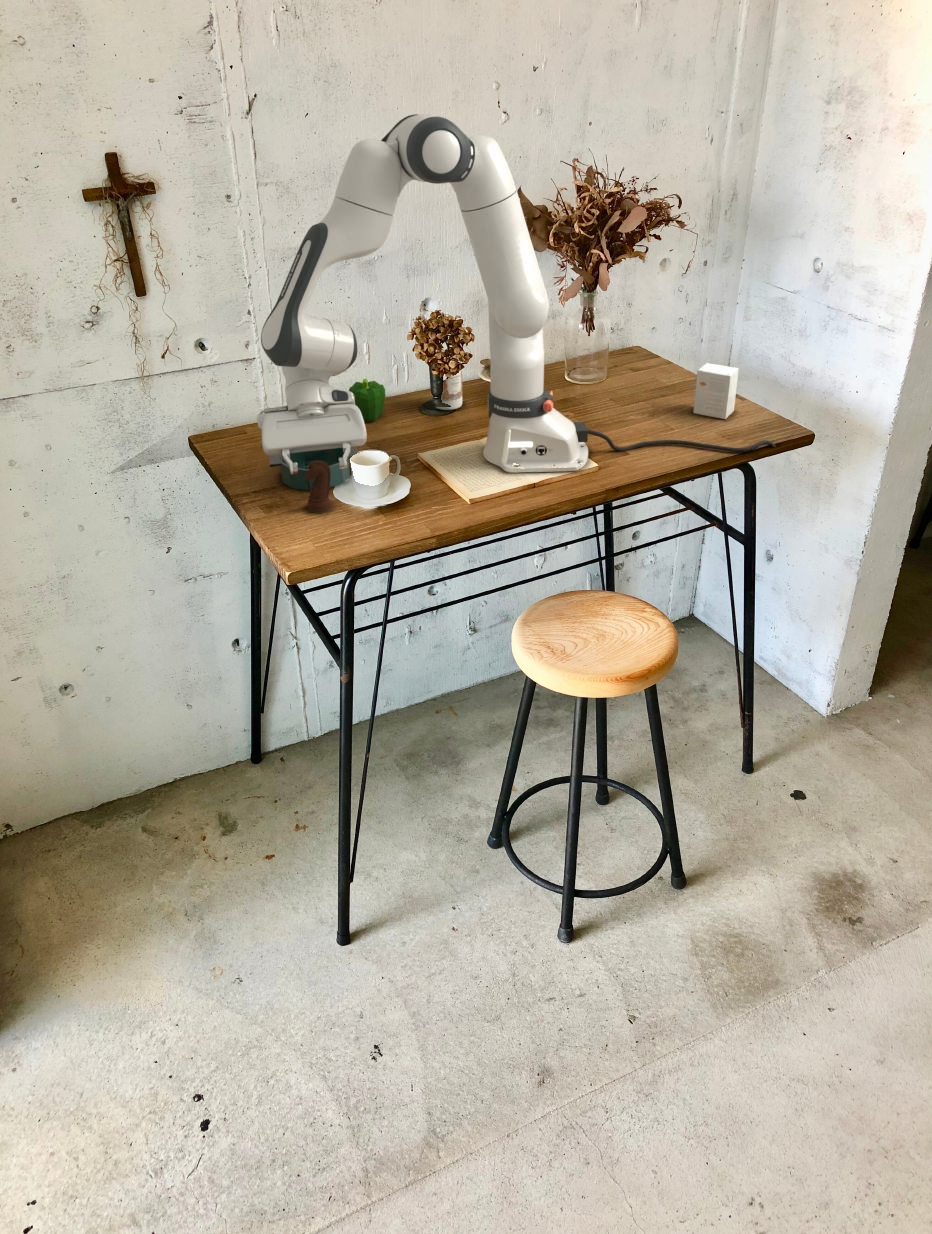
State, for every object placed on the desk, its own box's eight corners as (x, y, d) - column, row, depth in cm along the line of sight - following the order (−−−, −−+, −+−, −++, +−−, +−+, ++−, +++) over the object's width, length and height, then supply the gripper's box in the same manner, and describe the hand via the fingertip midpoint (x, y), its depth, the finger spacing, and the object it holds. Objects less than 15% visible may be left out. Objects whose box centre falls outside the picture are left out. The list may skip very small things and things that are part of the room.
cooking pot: (363, 485, 208) (361, 464, 205) (273, 494, 205) (270, 474, 203) (355, 456, 219) (354, 437, 217) (270, 465, 217) (267, 445, 214)
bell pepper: (360, 409, 242) (357, 368, 236) (391, 413, 239) (389, 372, 233) (344, 422, 235) (340, 380, 230) (376, 427, 233) (373, 385, 227)
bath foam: (443, 413, 239) (440, 329, 227) (428, 404, 243) (424, 321, 232) (468, 406, 242) (466, 323, 231) (452, 397, 246) (450, 315, 235)
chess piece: (305, 504, 201) (300, 458, 196) (330, 500, 203) (326, 454, 197) (311, 514, 198) (305, 467, 192) (336, 510, 199) (331, 463, 193)
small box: (734, 411, 236) (740, 368, 230) (725, 420, 232) (731, 375, 226) (701, 405, 240) (706, 362, 234) (692, 413, 236) (697, 369, 230)
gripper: (254, 402, 194) (263, 470, 191) (361, 391, 197) (371, 458, 194) (257, 415, 200) (265, 481, 197) (360, 405, 203) (370, 470, 201)
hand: (319, 470), depth 196 cm, fingers open, 8 cm apart
